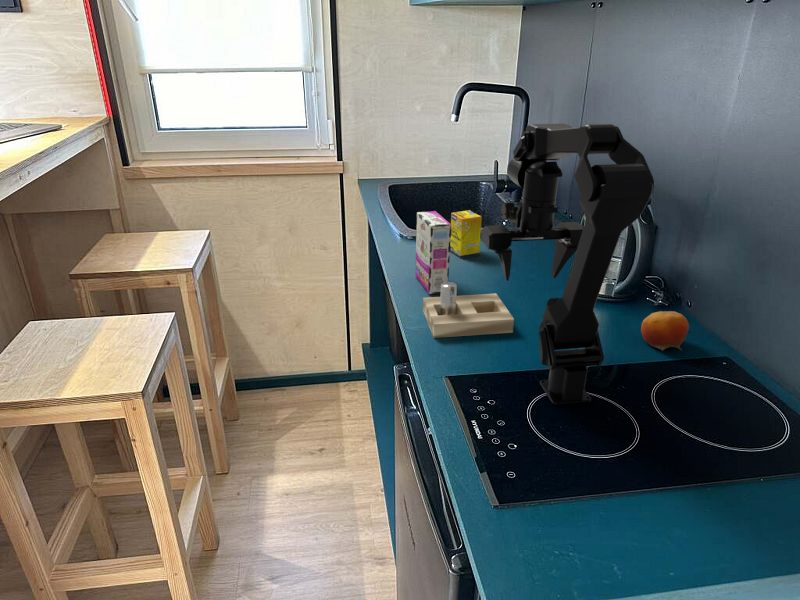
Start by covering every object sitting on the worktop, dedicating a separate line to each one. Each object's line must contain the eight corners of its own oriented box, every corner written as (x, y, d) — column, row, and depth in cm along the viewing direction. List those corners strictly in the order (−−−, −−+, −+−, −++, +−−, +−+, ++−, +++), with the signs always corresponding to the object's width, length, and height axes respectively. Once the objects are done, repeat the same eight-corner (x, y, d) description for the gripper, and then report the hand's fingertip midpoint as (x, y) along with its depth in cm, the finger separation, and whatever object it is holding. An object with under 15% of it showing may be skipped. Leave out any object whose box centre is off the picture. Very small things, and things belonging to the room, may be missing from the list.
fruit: (665, 355, 101) (658, 311, 102) (637, 355, 109) (630, 314, 110) (703, 349, 103) (695, 306, 104) (672, 350, 111) (666, 310, 112)
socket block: (512, 332, 112) (514, 319, 110) (433, 337, 110) (434, 324, 108) (495, 305, 122) (496, 293, 121) (422, 310, 120) (423, 297, 119)
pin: (456, 323, 114) (458, 287, 111) (441, 324, 114) (442, 288, 110) (453, 316, 117) (454, 281, 113) (438, 317, 117) (439, 282, 113)
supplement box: (448, 251, 152) (450, 212, 148) (467, 248, 155) (470, 209, 150) (460, 258, 148) (462, 218, 143) (479, 255, 150) (482, 215, 145)
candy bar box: (449, 293, 128) (452, 224, 121) (428, 295, 127) (430, 226, 120) (434, 274, 138) (436, 209, 131) (414, 276, 137) (415, 211, 130)
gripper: (570, 184, 107) (560, 260, 114) (475, 187, 105) (471, 265, 112) (597, 200, 98) (584, 282, 104) (493, 204, 95) (486, 288, 102)
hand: (530, 278), depth 106 cm, fingers open, 9 cm apart
